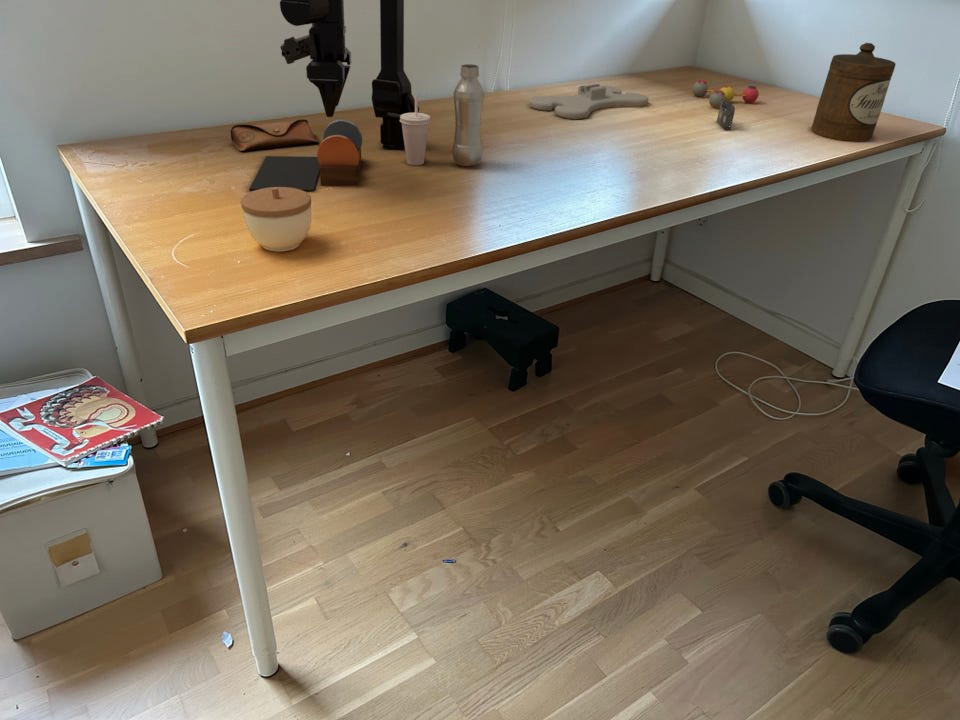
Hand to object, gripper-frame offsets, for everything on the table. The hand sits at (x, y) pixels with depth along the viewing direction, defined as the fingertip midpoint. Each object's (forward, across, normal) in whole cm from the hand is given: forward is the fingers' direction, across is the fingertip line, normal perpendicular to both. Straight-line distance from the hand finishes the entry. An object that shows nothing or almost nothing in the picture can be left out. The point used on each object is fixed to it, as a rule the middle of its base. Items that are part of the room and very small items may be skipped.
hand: (332, 111), depth 138 cm
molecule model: (+10, -74, +107) cm, 130 cm away
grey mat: (+14, -4, -10) cm, 17 cm away
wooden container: (+10, -44, +126) cm, 134 cm away
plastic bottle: (+13, -12, +27) cm, 32 cm away
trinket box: (+15, +30, -6) cm, 34 cm away
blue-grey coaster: (+8, -11, 0) cm, 14 cm away
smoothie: (+13, -13, +16) cm, 24 cm away
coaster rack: (+13, -6, +1) cm, 14 cm away
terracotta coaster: (+8, 0, +1) cm, 9 cm away
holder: (+11, -67, +64) cm, 93 cm away
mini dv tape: (+11, -48, +96) cm, 108 cm away
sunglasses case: (+13, -24, -16) cm, 32 cm away
